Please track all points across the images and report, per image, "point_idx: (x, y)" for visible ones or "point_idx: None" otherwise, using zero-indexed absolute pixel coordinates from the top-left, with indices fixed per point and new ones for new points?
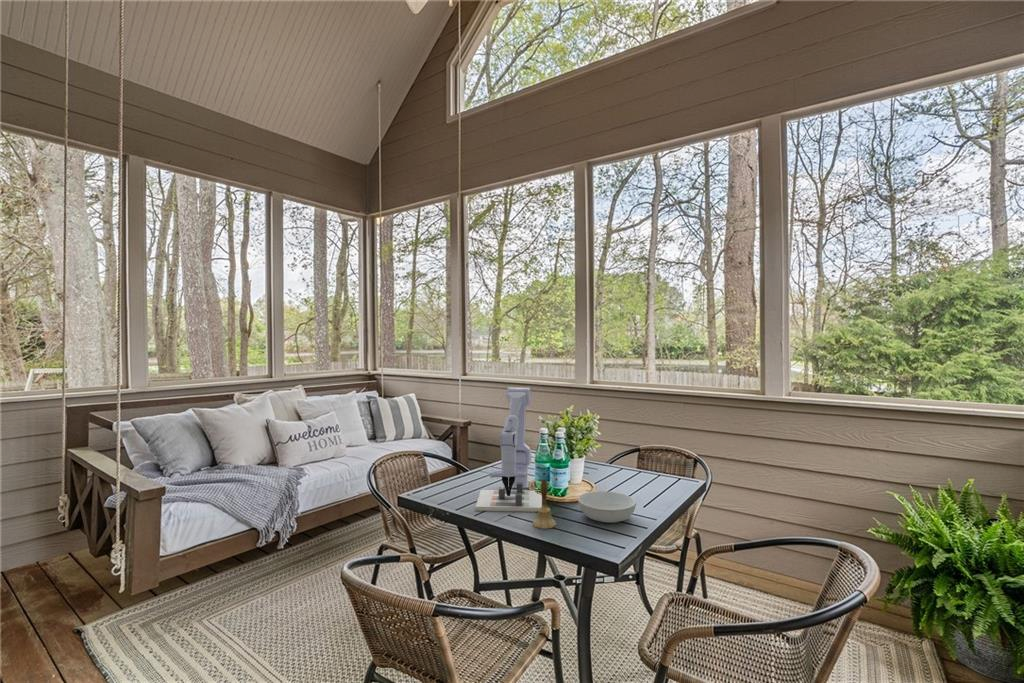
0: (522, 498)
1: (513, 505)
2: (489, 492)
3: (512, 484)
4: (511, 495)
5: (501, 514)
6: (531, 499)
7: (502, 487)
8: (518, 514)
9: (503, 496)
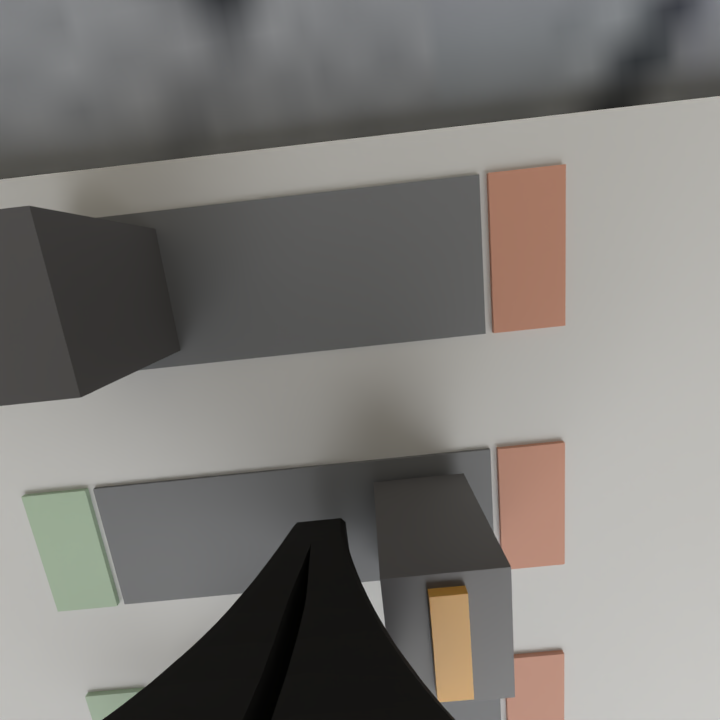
0: (129, 536)
1: (187, 229)
2: (613, 685)
3: (144, 691)
4: None
5: (343, 7)
6: (2, 525)
7: (443, 665)
8: (97, 51)
9: (394, 495)
